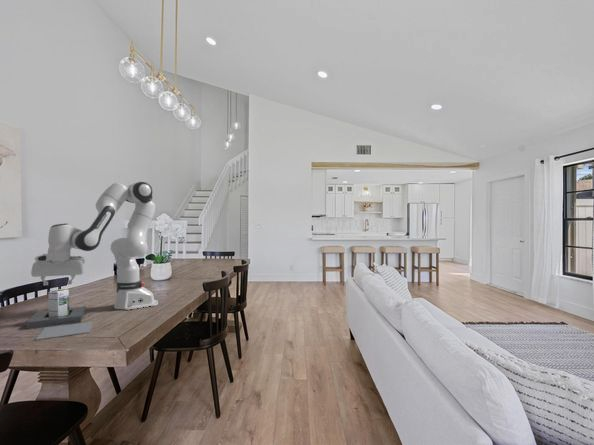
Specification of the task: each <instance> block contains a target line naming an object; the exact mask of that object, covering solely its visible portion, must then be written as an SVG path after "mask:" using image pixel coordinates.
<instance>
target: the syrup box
mask: <svg viewBox="0 0 594 445" xmlns="http://www.w3.org/2000/svg"><path fill="white" fill-rule="evenodd" d="M69 292H70V290H69V289H68V288H67V289H66V288H59V289H55V290H50V291H48V310H49V317H55V316H64V315H69V308H70V307H69V306H70V296H69V295H70V293H69Z"/></svg>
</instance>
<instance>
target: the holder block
mask: <svg viewBox="0 0 594 445" xmlns="http://www.w3.org/2000/svg"><path fill="white" fill-rule="evenodd" d="M86 312H87V306H86V305H85V306H84V305H83V306H78V307H77V306H75V307H69V315H64V316H55V317H49V309H48V310H38V311H36V312H35V313H34V315H33V316H31V317H30V318H29V319H28V320H27V321H26V327H25V330H30V329H39V328H47V327H55V326H63V325H71V324H78V323H82V320H83V319H84V317H85V314H86Z"/></svg>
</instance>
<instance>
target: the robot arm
mask: <svg viewBox="0 0 594 445" xmlns="http://www.w3.org/2000/svg"><path fill="white" fill-rule="evenodd" d="M152 200H153V188H152V186H151V185H150V184H149V183H148V182H144V181H138V182H133V183H132V184H130V185H125V184H124V183H121V182H114V183H112V184H111V185H110V186H108V187H107V189H105V190H104V191H103V193H102V194H101V195H100V196H99V197H98V199H97V200H96V202H95V209H96V210H97V212H98V214H97V216H96V217H95V219H94V220H93V222H92V223H91V225H90V226H89V227H88V228H87V229H85V230H81V229H79V228H76V227H74V226H72V225H71V224H70V223H58V224H53V225H51V226H50V228H49V230H48V231H49V233H48V236H47V237H48V238H47V239H48V240H47V242H48V248H47V249H48V250H47V253H43V254H40V255H37V256H35V258H34V261H35V262H34V263H33V264H32V267H31V276H32V277H33V278H35V277H36V278H37V277H40V280H41V281H42V283H43V286H49V281H47V280H45V279H46V277H59V276H60V277H61V276H70V278H71V279H70V280H67V285H73V280H74V279H75V277H76V276H79V275H83V274H84V272H85V270H84V264H85V261H86V260H85V257H83V256H81V255H78V256H76V255H75V256H74V255H71V252H72V251H71V249H75V250H82V251H83V252H91V251H94V250H95V249H97V248H98V247H99V245H100V243H101V241H102V240H101V239H102V235H103V234H104V232H105V231H106V229H107V227H108V226H109V224H110V223H111V221H112V220H113V218H114V216H115V214H116V213H117V212H118V211H119V210H120V208H121V207H122V206H123V204H124V203H125V202H128V203H130V204H135V205H134V206H135V207H134V210H133V211H132V214H131V217H130V219H129V221H128V223H127V225H126V226H127V229H128V231H127V236H126V237H121V238H117V239H114V240H113V241H112V242H111V243H110V251H111V253H112V254H113V255H114V256H113V257H114V259H115V262H116V269H117V270H116V271H117V282H116V286H115V288H116V289H115V291H116V298H115V303H114V307H113V308H114V309H116V310H124V311H129V310H130V309H132V310H137V308H138V309H143V307H144V308H149V306H151V307H156V306H157V305H158V304H159V301H158V300H157V299H155V297H154V293H153V292H152V291H151V290H149V289H148V288H146V287H145V282H144V281H143V280H141V279H140V265H138V264H139V263H137V260H136V258H140V257H144V256H145V255H146V254H147V252H148V249H149V247H148V244H147V234H148V232H149V229H150V226H151V224H152V222H153V219H154V217H155V212H156V203H154V202H153V201H152Z"/></svg>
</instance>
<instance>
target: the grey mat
mask: <svg viewBox="0 0 594 445" xmlns="http://www.w3.org/2000/svg"><path fill="white" fill-rule="evenodd" d="M93 323H94V322H93V321H88V322H80V323H72V324H64V325H56V326H48V327H43V329H42V331H41V332H40V333H39V334H38V336H37V337H36V338H35V341H40V340H48V339H49V340H50V339H56V338H63V337H70V336H77V335H84V334H89V333H90V332H91V329H92V326H93Z"/></svg>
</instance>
